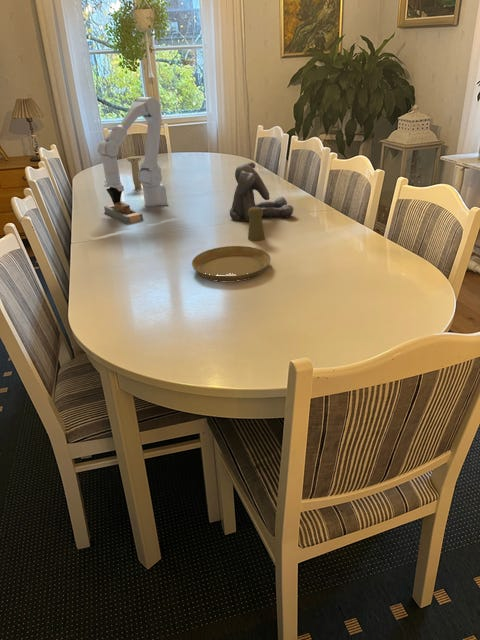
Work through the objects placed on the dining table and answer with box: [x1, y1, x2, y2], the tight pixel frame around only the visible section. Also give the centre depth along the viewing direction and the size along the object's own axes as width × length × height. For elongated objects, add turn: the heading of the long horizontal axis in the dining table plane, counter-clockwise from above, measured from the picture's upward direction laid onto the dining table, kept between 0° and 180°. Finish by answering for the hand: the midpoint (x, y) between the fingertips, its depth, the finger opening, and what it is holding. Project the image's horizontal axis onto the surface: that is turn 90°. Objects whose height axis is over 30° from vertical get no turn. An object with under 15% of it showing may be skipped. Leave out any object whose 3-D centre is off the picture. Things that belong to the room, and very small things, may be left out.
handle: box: [127, 155, 142, 190], centre depth 255 cm, size 5×6×15 cm
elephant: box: [229, 161, 294, 223], centre depth 203 cm, size 21×25×21 cm
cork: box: [247, 207, 266, 242], centre depth 181 cm, size 6×6×11 cm
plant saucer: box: [191, 245, 272, 282], centre depth 159 cm, size 24×24×3 cm
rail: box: [103, 203, 145, 225], centre depth 212 cm, size 8×22×4 cm, turn 36°
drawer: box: [114, 201, 131, 215], centre depth 211 cm, size 3×8×5 cm, turn 36°
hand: (117, 205), depth 215 cm, fingers closed
